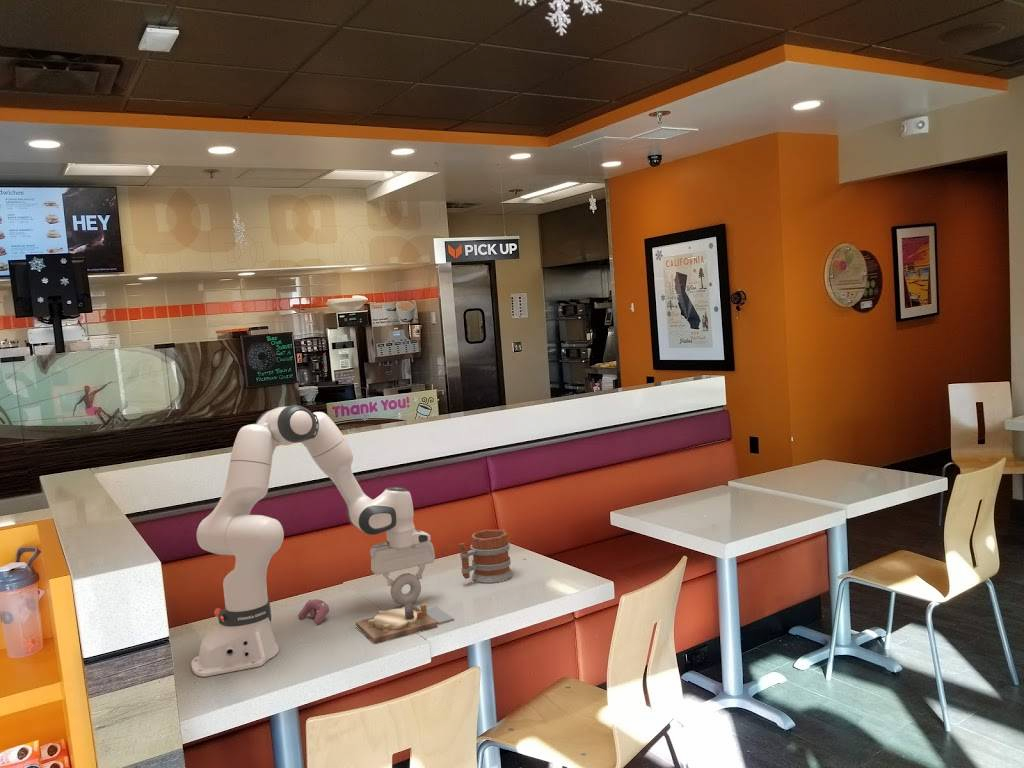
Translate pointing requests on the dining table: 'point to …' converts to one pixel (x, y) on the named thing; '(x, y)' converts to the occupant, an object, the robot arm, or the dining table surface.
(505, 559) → the mug
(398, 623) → the index wheel
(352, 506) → the robot arm
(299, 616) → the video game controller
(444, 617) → the donut mat
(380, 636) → the wheel base
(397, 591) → the donut
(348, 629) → the dining table surface
